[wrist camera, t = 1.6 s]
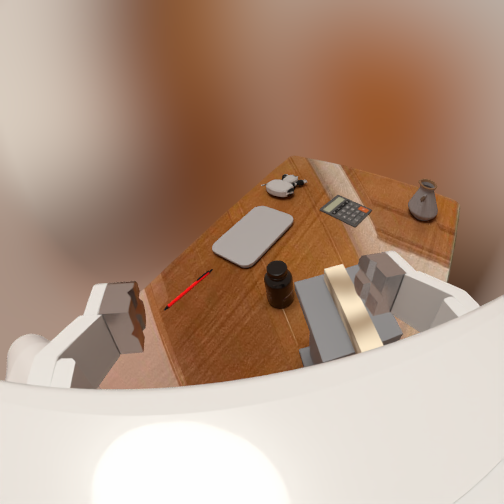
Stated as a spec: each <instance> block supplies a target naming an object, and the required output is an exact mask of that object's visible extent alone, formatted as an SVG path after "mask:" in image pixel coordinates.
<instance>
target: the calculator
mask: <svg viewBox="0 0 504 504" xmlns="http://www.w3.org/2000/svg"><path fill="white" fill-rule="evenodd" d="M320 211H322V212H324V213H326V214H328V215H330V216H332V217H334V218H336V219H339V220H341V221H343V222H345V223H347V224H349V225H351V226H353V227H356V226H357V225H358V224H359V223H360V222H361V221H362V220H363V219H364V218H365V217H366V216H367V215H368V214H369V213H370V212H371V211H372V210H371V209H369V208H367V207H365V206H362V205H360V204H358V203H356V202H353V201H351V200H349V199H347V198H344V197H342V196H340V195H337V196H336V197H334V198H333V199H332V200H331V201H329V202H328V203H327V204H326V205H324V206H323V207H322V208H320Z"/></svg>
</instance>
